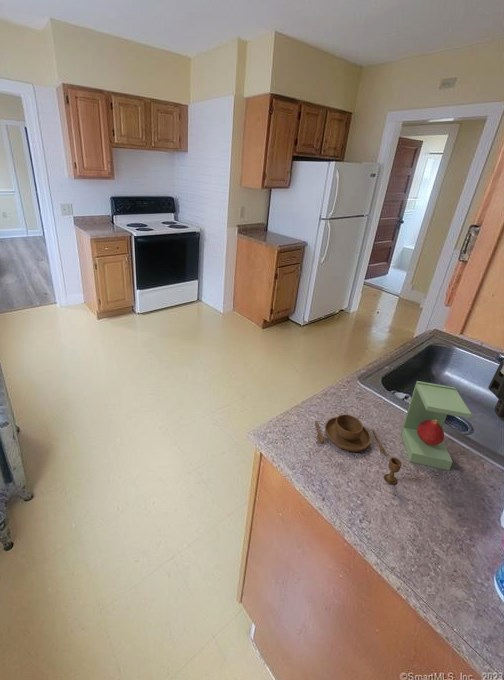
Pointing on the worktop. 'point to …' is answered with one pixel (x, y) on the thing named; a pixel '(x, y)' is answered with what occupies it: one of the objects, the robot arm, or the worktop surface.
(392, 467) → the place setting
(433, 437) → the onion
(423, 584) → the worktop surface
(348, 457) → the worktop surface
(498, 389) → the robot arm
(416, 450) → the shelf
